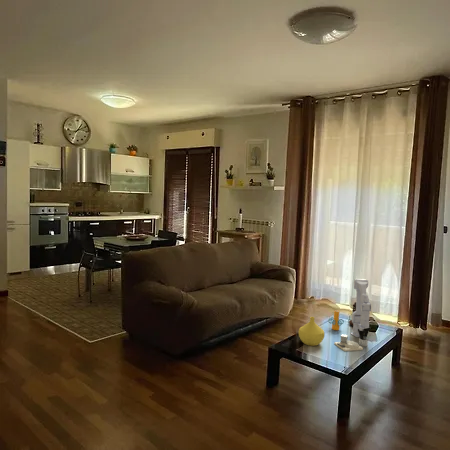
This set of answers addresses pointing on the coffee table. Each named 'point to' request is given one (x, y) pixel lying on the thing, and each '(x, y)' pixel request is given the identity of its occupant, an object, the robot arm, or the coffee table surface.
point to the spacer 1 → (344, 338)
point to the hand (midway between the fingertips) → (363, 337)
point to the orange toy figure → (336, 321)
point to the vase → (311, 333)
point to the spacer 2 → (363, 342)
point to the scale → (349, 346)
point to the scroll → (353, 311)
